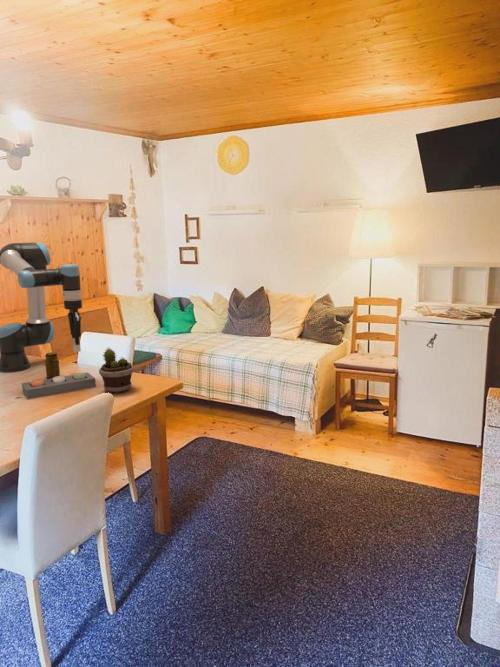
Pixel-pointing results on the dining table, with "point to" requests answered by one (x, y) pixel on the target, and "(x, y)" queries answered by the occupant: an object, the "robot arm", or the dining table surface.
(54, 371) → the condiment
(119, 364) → the flowerpot
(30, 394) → the console
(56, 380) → the button white
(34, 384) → the button rust
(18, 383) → the dining table surface
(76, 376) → the button sage
